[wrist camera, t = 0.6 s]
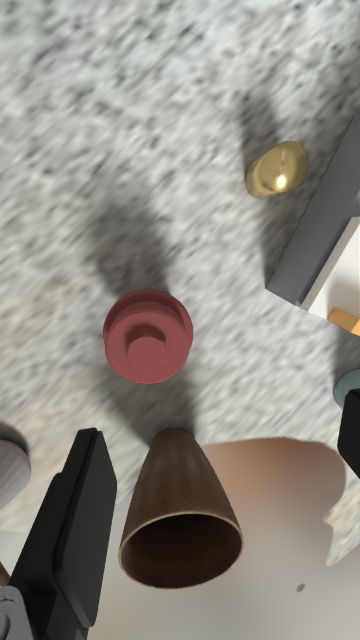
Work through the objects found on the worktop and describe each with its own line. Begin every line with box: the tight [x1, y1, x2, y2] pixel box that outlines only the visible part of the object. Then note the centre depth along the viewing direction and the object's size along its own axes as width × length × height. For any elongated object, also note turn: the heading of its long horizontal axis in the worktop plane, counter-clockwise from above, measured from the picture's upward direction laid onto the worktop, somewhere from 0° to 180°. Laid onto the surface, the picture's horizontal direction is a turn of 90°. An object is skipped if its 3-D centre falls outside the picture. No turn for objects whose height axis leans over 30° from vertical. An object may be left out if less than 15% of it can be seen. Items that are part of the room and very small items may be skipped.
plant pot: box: [118, 428, 244, 589], centre depth 36 cm, size 15×15×16 cm
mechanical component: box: [103, 289, 193, 384], centre depth 29 cm, size 12×10×10 cm
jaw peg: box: [245, 141, 308, 199], centre depth 27 cm, size 4×4×6 cm
